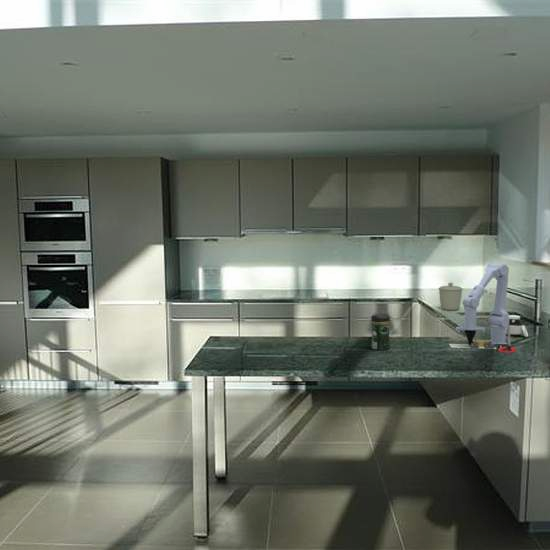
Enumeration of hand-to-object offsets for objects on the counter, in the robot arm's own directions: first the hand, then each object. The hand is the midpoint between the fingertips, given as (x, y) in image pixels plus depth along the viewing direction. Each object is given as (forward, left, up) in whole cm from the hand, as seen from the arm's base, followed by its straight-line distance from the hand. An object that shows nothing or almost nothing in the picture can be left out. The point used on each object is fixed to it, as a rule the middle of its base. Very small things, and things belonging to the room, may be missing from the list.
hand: (469, 344), depth 300 cm
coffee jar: (+10, -47, -2) cm, 48 cm away
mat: (-1, +1, -1) cm, 2 cm away
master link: (0, +5, -1) cm, 5 cm away
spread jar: (-35, +32, -2) cm, 47 cm away
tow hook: (+8, +17, -2) cm, 19 cm away
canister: (-135, +7, -2) cm, 135 cm away
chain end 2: (0, +9, -1) cm, 9 cm away
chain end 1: (0, +2, -1) cm, 2 cm away
